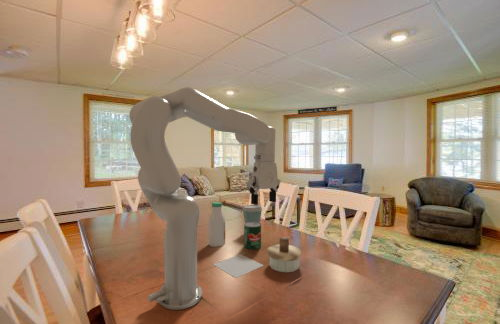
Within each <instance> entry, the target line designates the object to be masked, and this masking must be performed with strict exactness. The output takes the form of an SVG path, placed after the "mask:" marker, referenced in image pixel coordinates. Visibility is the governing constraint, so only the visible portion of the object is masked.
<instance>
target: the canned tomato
mask: <svg viewBox="0 0 500 324" xmlns="http://www.w3.org/2000/svg"><path fill="white" fill-rule="evenodd" d="M243 227H244V228H243V239H244V240H243V247H244V248H245V249H246V250H251V251H254V250H258V249H261V248H262V223H261V222H260V223H259V222H246V223H245V222H244V224H243Z"/></svg>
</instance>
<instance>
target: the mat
mask: <svg viewBox="0 0 500 324" xmlns="http://www.w3.org/2000/svg"><path fill="white" fill-rule="evenodd" d="M212 265H213V266H214V267H216V268H218V269H220V270H221V271H223V272H225V273H227V274H229V276H231V277H233V278H235V279H238V278H239V277H242V276H244V275H247V274H248V273H251V272H254V271H255V270H257V269H259V268H262V267H263V266H265V265H264V264H262V263H260V262H258V261H255V260H254V259H251V258H250V257H247V256H245V255H243V254H241V253H240V254H237V255H235V256H232V257H229V258H226V259H224V260H221V261H218V262H216V263H213V264H212Z"/></svg>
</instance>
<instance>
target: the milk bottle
mask: <svg viewBox="0 0 500 324" xmlns="http://www.w3.org/2000/svg"><path fill="white" fill-rule="evenodd" d="M222 205H223V203H222V202H220V201H215V202H211V208H212V209H211V213H210V215H209V218H208V219H209V220H208V244H209V247H211V248H214V247H221V246H225V244H226V220H225V219H226V218H225V216H224V212H223V209H222V208H223V207H222Z"/></svg>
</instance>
